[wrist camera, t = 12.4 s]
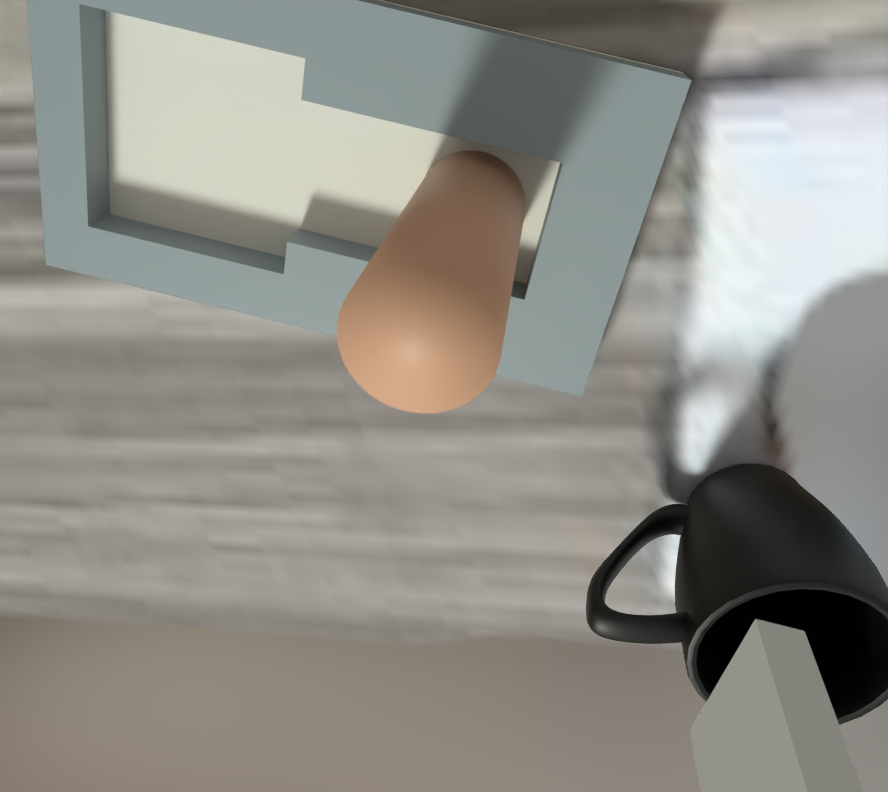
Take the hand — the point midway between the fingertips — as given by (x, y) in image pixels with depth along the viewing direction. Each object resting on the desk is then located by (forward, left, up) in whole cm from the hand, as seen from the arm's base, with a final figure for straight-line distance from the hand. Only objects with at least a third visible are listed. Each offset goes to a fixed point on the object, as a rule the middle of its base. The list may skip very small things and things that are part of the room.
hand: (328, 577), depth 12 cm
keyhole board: (-5, 0, -23) cm, 23 cm away
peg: (0, 0, -22) cm, 22 cm away
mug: (+15, -12, -23) cm, 30 cm away
